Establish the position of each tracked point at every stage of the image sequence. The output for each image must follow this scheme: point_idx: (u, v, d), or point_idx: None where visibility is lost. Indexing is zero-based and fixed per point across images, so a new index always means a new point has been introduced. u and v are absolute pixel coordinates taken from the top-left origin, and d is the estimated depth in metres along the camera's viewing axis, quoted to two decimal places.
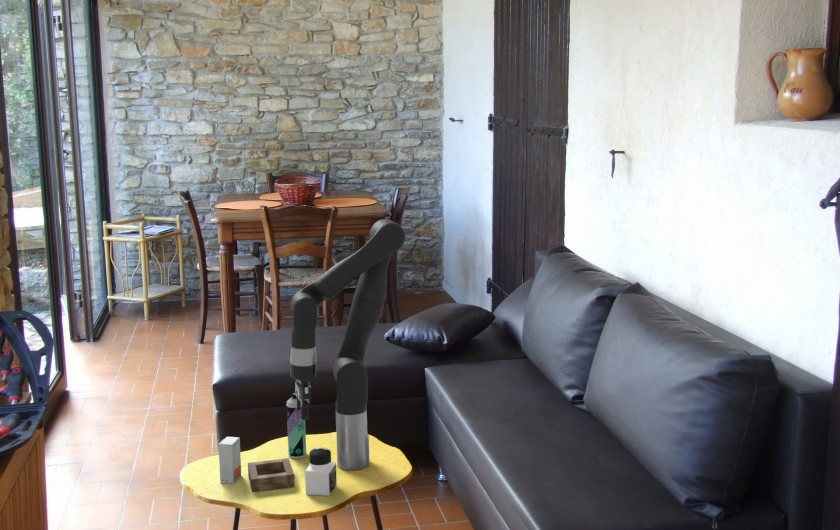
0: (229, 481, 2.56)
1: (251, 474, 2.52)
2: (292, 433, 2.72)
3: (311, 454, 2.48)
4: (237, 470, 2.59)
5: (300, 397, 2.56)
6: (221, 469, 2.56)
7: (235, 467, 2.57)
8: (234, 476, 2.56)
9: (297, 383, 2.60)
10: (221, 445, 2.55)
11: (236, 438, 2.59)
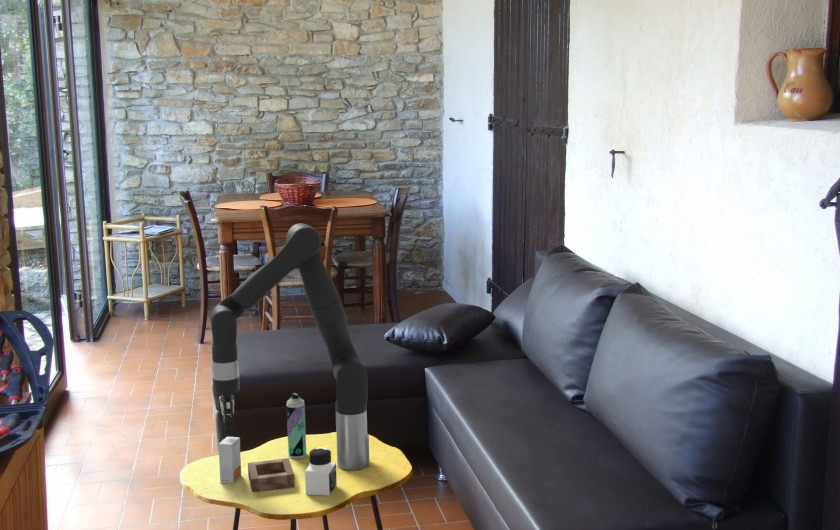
0: (229, 481, 2.56)
1: (251, 474, 2.52)
2: (292, 433, 2.72)
3: (311, 454, 2.48)
4: (237, 470, 2.59)
5: (223, 412, 2.51)
6: (221, 469, 2.56)
7: (235, 467, 2.57)
8: (234, 476, 2.56)
9: (221, 397, 2.55)
10: (221, 445, 2.55)
11: (236, 438, 2.59)
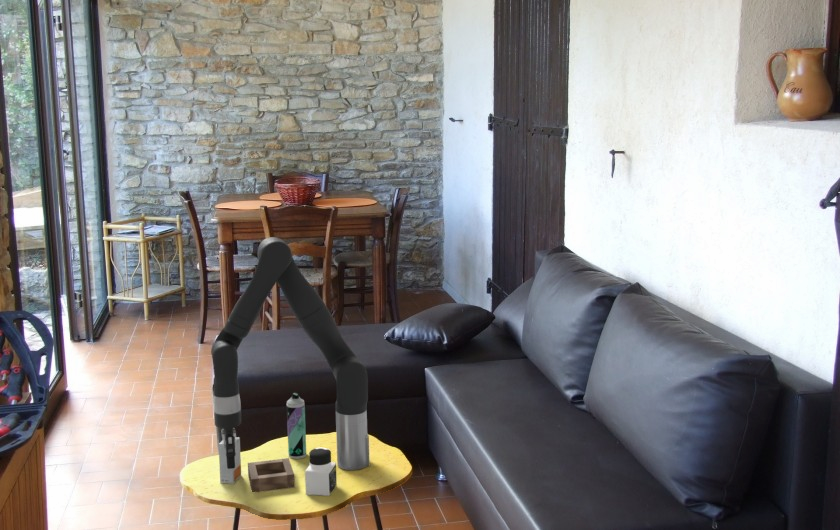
0: (229, 481, 2.56)
1: (251, 474, 2.52)
2: (292, 433, 2.72)
3: (311, 454, 2.48)
4: (237, 470, 2.59)
5: (225, 446, 2.53)
6: (221, 469, 2.56)
7: (235, 467, 2.57)
8: (234, 476, 2.56)
9: (223, 430, 2.57)
10: (221, 445, 2.55)
11: (236, 438, 2.59)
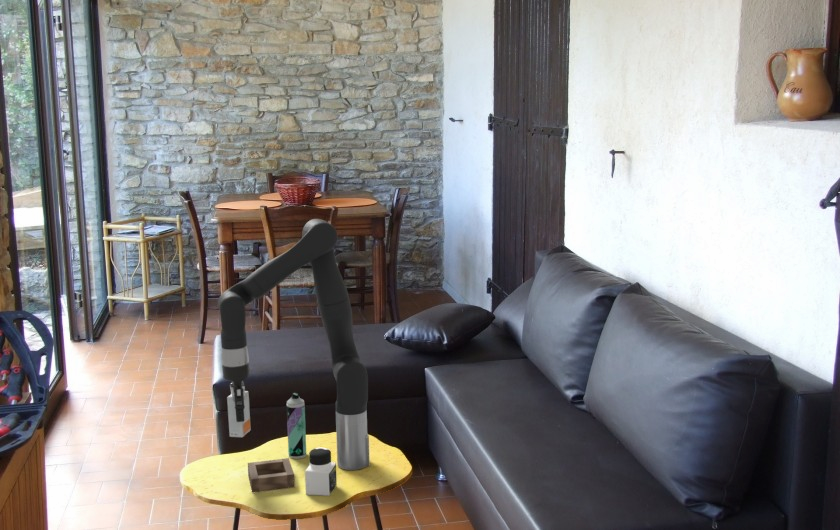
0: (238, 435, 2.53)
1: (251, 474, 2.52)
2: (292, 433, 2.72)
3: (311, 454, 2.48)
4: (246, 424, 2.56)
5: (234, 399, 2.51)
6: (230, 423, 2.53)
7: (244, 420, 2.54)
8: (243, 430, 2.54)
9: (231, 384, 2.54)
10: (230, 398, 2.52)
11: (245, 392, 2.56)
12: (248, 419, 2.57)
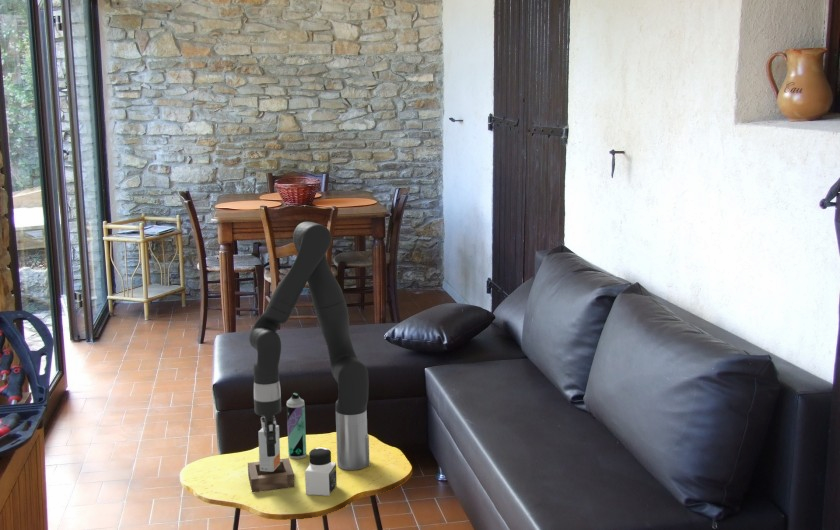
0: (269, 469, 2.53)
1: (251, 474, 2.52)
2: (292, 433, 2.72)
3: (311, 454, 2.48)
4: (277, 458, 2.56)
5: (265, 434, 2.51)
6: (261, 457, 2.53)
7: (275, 455, 2.54)
8: (274, 464, 2.54)
9: (262, 418, 2.54)
10: (261, 433, 2.52)
11: None
12: (278, 453, 2.57)
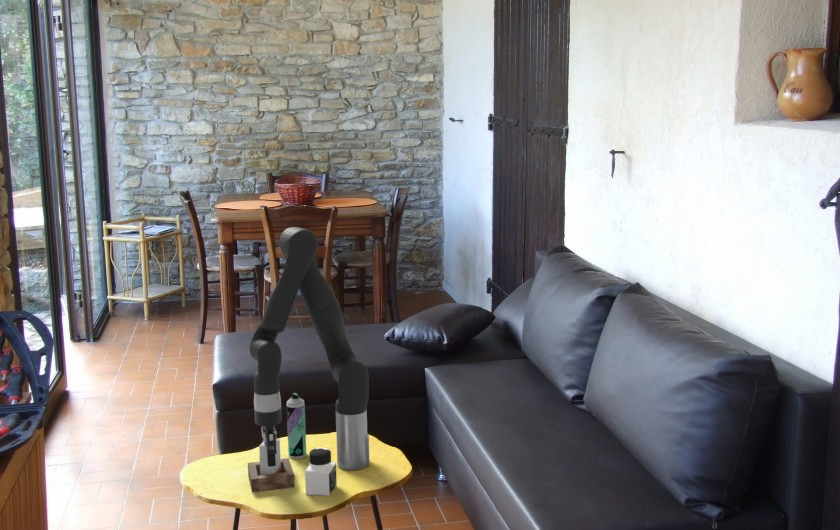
0: None
1: (251, 474, 2.52)
2: (292, 433, 2.72)
3: (311, 454, 2.48)
4: (277, 472, 2.57)
5: (266, 444, 2.51)
6: (262, 471, 2.54)
7: (276, 469, 2.55)
8: None
9: (263, 429, 2.55)
10: (262, 447, 2.53)
11: (276, 440, 2.57)
12: (279, 467, 2.58)
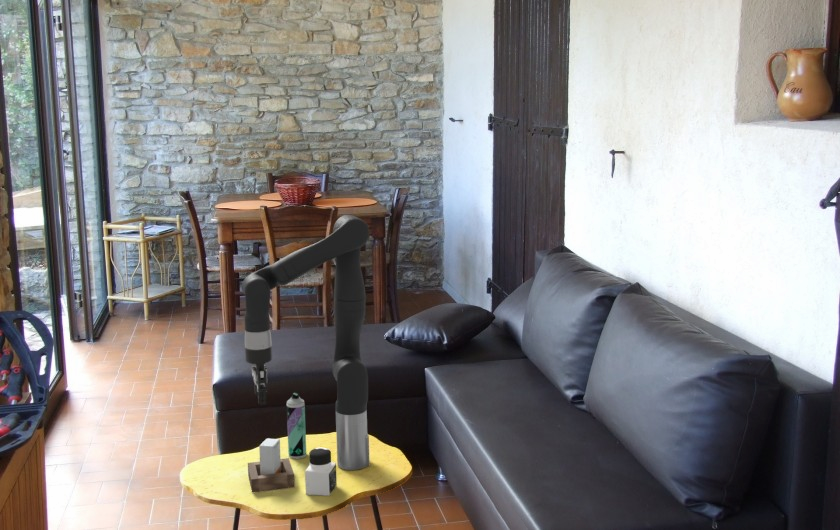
0: None
1: (251, 474, 2.52)
2: (292, 433, 2.72)
3: (311, 454, 2.48)
4: (277, 472, 2.57)
5: (256, 381, 2.51)
6: (262, 471, 2.54)
7: (276, 469, 2.55)
8: None
9: (253, 367, 2.54)
10: (262, 447, 2.53)
11: (276, 440, 2.57)
12: (279, 467, 2.58)
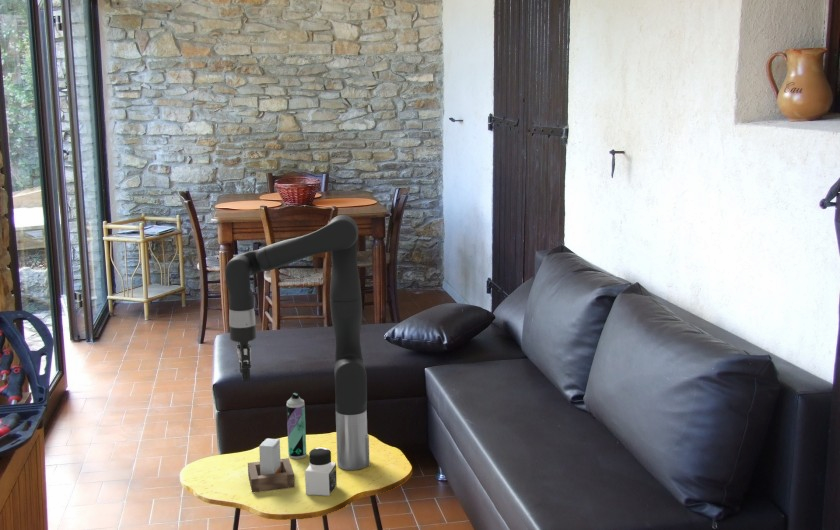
0: None
1: (251, 474, 2.52)
2: (292, 433, 2.72)
3: (311, 454, 2.48)
4: (277, 472, 2.57)
5: (240, 359, 2.58)
6: (262, 471, 2.54)
7: (276, 469, 2.55)
8: None
9: (238, 345, 2.62)
10: (262, 447, 2.53)
11: (276, 440, 2.57)
12: (279, 467, 2.58)
